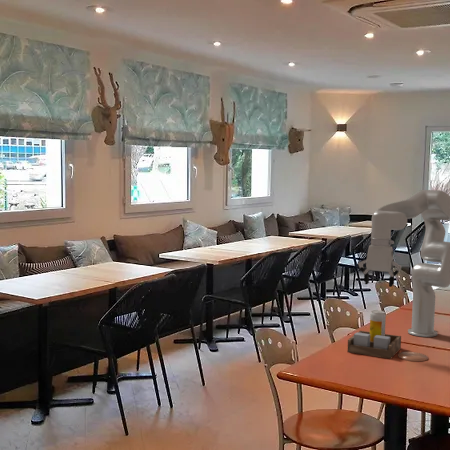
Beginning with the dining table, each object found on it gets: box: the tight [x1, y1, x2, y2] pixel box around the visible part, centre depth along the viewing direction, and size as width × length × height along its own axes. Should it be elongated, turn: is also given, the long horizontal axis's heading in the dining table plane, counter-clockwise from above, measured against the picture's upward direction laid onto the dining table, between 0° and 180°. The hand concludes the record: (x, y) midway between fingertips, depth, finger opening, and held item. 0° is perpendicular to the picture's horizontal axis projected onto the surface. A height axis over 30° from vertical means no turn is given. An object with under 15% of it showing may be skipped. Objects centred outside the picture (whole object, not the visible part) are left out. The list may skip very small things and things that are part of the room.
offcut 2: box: [374, 335, 391, 350], centre depth 244 cm, size 4×6×7 cm
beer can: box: [369, 309, 387, 342], centre depth 252 cm, size 6×6×15 cm
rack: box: [347, 330, 402, 360], centre depth 250 cm, size 17×17×5 cm
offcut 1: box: [353, 331, 370, 347], centre depth 248 cm, size 4×6×7 cm
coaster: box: [397, 351, 429, 363], centre depth 241 cm, size 11×11×1 cm
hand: (378, 285), depth 251 cm, fingers open, 9 cm apart
